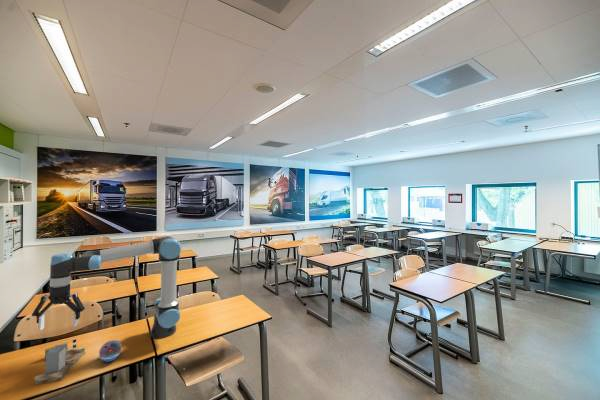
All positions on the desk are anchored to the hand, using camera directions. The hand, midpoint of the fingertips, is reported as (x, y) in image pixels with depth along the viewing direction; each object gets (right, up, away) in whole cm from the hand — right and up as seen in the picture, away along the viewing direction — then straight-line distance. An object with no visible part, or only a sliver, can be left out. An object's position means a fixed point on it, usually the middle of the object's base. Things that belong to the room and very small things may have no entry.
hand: (58, 327), depth 123 cm
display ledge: (-2, -23, +4) cm, 23 cm away
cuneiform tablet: (-12, -23, +13) cm, 29 cm away
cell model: (+18, -24, +11) cm, 32 cm away
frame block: (-1, -21, -1) cm, 21 cm away
